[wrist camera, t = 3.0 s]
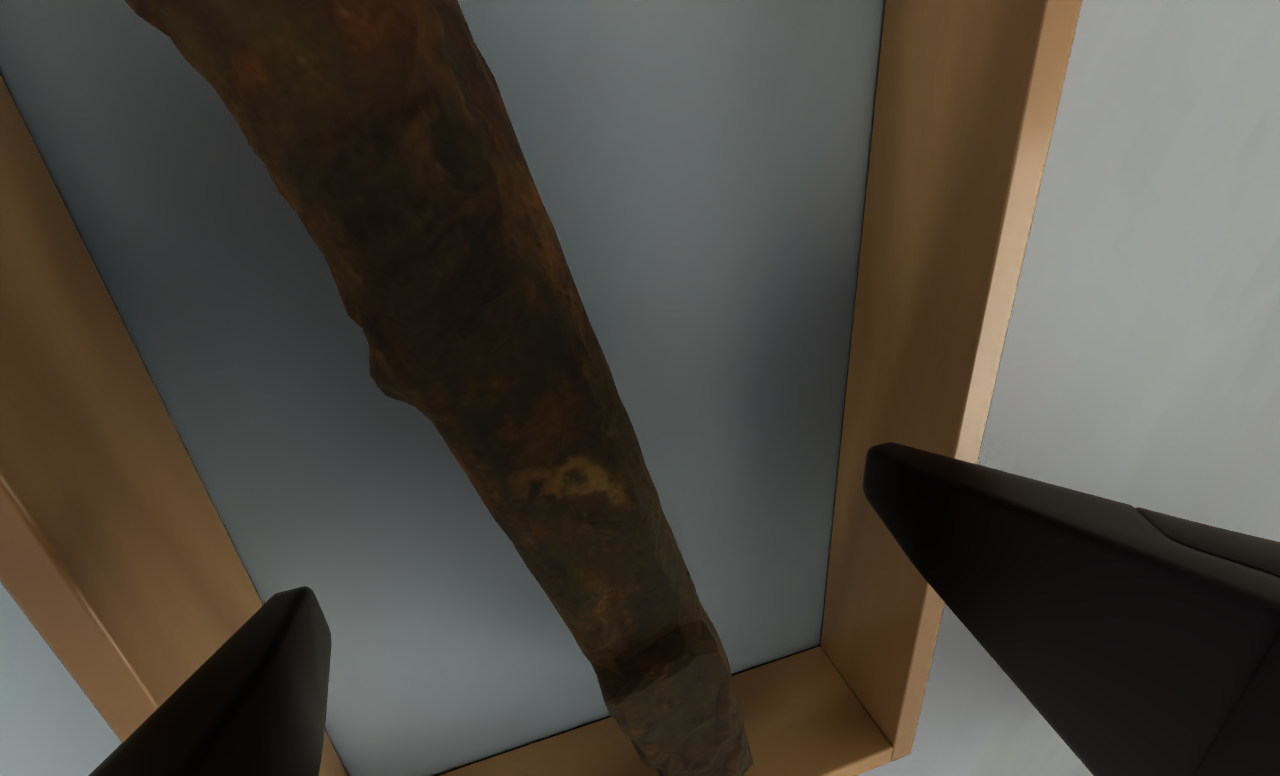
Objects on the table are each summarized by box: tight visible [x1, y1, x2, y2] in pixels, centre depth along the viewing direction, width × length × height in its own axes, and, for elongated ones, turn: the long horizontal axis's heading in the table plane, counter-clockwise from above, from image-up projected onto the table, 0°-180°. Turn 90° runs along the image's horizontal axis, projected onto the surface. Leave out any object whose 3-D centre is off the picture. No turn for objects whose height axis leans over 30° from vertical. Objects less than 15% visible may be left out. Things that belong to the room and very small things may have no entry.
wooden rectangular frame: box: [0, 0, 1082, 776], centre depth 11 cm, size 16×22×4 cm
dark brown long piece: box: [125, 0, 754, 776], centre depth 10 cm, size 19×4×5 cm, turn 16°
